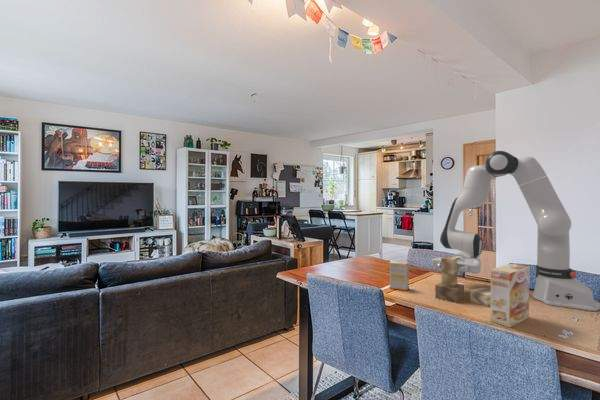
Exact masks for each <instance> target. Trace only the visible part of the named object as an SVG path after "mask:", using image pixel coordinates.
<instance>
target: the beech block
mask: <svg viewBox="0 0 600 400" xmlns="http://www.w3.org/2000/svg"><path fill="white" fill-rule="evenodd" d="M469 290H470V295H469V296H470V300H471V301H470V302H473V301H474V302H473V303H475V302H476V303H475V304H478V303H479V304H478V305H481V306H483V305H484V307H487V308H488V307H491V288H488V287H477V288H473V289H469Z"/></svg>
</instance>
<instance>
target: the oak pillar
mask: <svg viewBox="0 0 600 400" xmlns="http://www.w3.org/2000/svg"><path fill="white" fill-rule="evenodd" d="M440 269H441V282H442V285H443V286H449V287H455V286H456V285H457V284H458V272H457V258H454V257H452V256H443V257H442V258H441V268H440Z"/></svg>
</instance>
